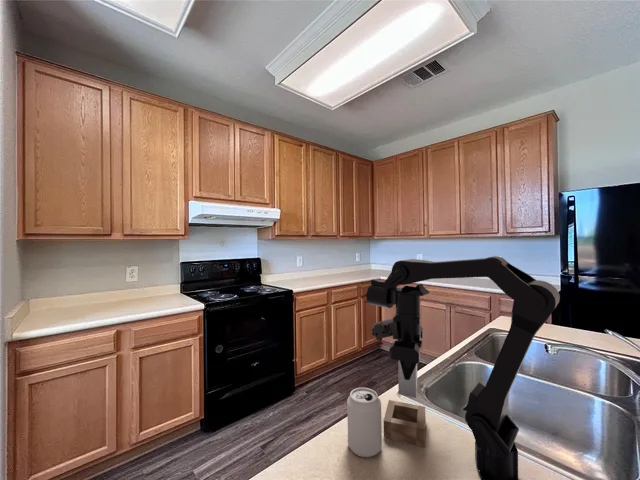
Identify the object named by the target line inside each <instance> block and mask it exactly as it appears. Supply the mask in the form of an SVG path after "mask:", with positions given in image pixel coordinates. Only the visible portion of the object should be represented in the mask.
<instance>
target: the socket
mask: <svg viewBox="0 0 640 480" xmlns="http://www.w3.org/2000/svg"><path fill="white" fill-rule="evenodd" d="M426 423H427V422H426V406H424V405H417V404H413V403H408V402H403V401H397V400H391V399H388V402H387V406H386V409H385V414H384V417H383V438H384V439H388V440H393V441H396V442H401V443H405V444H410V445H414V446H418V447H421V448H426V447H425V445H426Z"/></svg>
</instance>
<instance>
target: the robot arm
mask: <svg viewBox="0 0 640 480" xmlns="http://www.w3.org/2000/svg"><path fill="white" fill-rule="evenodd" d="M466 278H468V279H469V278H488V279H489V280H491V281H492V282H493V283H494V284H495V285H496V286H497V287H498V288H499V289H500V290H502V292H503V293H504V294H505V295H506V296H508V297H509V298H510V299H511V300H513V304H512V309H511V317H510V318H511V319H510V320H511V321H510V322H511V323H510V327H509V330H508V332H507V335H506V337H505V339H504V341H503V343H502V346H501V348H500V351H499V353H498V356H497V358H496V361H495V363H494V365H493V368H492V369H491V372H490V374H489V377H488V380H487V381H486V384H485V385H484V384H483V383H481V382H479V381H478V383H477V384H476V385H475V386H474V387H473V389H472V390H471V391H470V392H469V395H468V401H467V403H466V404H465V406H463V408H462V410H463V411H465V414H464V420H465V422H466V424H467V426H468V428H469V429H470V430H471V432H472V436H473V438H474V440H475V442H474V451H475V452H474V456H475V457H474V462H475V466H476V469H477V471H478V472H479V475H480V477H479V478H480V480H519V450H518V448H517V446H516V443H515V441H516V438H517V435H518V433H519V431H520V427H518V425H517V424H516V423H515V422H514V421H513V420H512V418H511V417H510V416H509V415H508V413H507V411H508V407H509V394H510V391H511V389H512V386H513V385H514V382H515V380H516V378H517V376H518V374H519V371H520V369H521V367H522V364H523V362H524V360H525V358H526V355H527V353H528V351H529V348H530V346H531V345H532V343H533V341H534V338H535V336H536V334H537V332H538V331H539V330H540V329H541V328H542V327H543V325H544V324H545V323H546V321H547V320H548V319H549V318H550V317H551V315H552V314H553V312H554V310H555V309H556V307H557V306H558V304H559V303H560V300H561V299H560V297H561V295H560V293H559V292H558V289H557V288H556V287H555V286H554V285H553V284H552V283H550V282H547V281H544V280H539V279H538V280H537V279H536V278H535V277H532V276H531V275H530V274H528V273H526V272H525V271H523V269H522V270H521V269H520V268H519V267H516V266H514V265H513V264H511V263H510V262H508V260H506V259H505V258H503V257H502V256H496V255H494V256H489V257H484V258H481V257H480V258H471V259H470V258H469V259H468V258H467V259H457V260H454V259H453V260H444V261H432V260H431V261H430V260H425V259H416V258H409V259H404V260H402V259H401V260H397V261H395V262H394V263H393V265H392V268H391V272H390V274H388V277H386V279H385V280H382V279H378V278H374V279H371V280H370V285H369V286H368V288H367V291H366V294H365V296H366V297H365V298H366V301H367V303H368V305H370V306H371V305H372V306H377V307H381V308H386V309H391V308H393V307H394V305H395V314H394V316H393V318H389V319H385V320H381V321H377V322H375V323H373V325H372V326H371V335H372V336H373V337H374V338H375V341H380V340H381V339H385V338H388V337H389V338H391V337H392V339H393V340H394V341H393V342H392V343H391V345H390V347H389V349H388V350H389V351H388V353H389V354H388V357H389V359H390V360H394V361H398V360H399V361H400V363H401V367H402V371H403V375H404V379H405V380H410V378H411V375H412V373H413V371H414V369H415V366H416V364H417V365H418V364H419V363H420V359H421V347H422V343H423V341H422V340H421V339H423V337H424V328H423V327H422V325H421V318H422V314H421V297H423V296H426V295H429V294H430V291H429V290H428V289H427V288H426V287H424V285H423V283H420V282H424V281H428V280H432V279H433V280H435V279H437V280H439V279H466ZM414 283H420V284H417V285H416V286H413V285H412V286H411V285H409V284H414ZM400 286H403V287H402V288H401V287H400Z"/></svg>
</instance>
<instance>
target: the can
mask: <svg viewBox="0 0 640 480" xmlns="http://www.w3.org/2000/svg"><path fill="white" fill-rule="evenodd" d="M349 393H350V394H349V396H348V397H347V399H346V403H347V404H346V405H347V407H346V408H347V409H346V410H347V411H346V413H347V445H348V447H349V449H350V450H351V451H352V452H353V453H355V455H357V456H358V457H361V458H371V457H374V456H375V455H377V454H378V453H380V451H381V450H382V446H383V438H382V437H383V436H382V432H383V430H382V428H383V427H382V401H381V399H380V398H379V395H378V393H377V392H376V391H375V390H374V389H372V388H369V387H356V388H354V389H352V390H351V391H350V392H349Z"/></svg>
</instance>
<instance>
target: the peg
mask: <svg viewBox="0 0 640 480" xmlns="http://www.w3.org/2000/svg"><path fill="white" fill-rule="evenodd" d="M397 361H398V362H397V363H398V366H397V367H398V368H397V369H398V374H397V375H398V378H397V379H398V380H397V381H398V388H397V389H398V392H397V393H398V395H401V396H404V397H409V398H417V394H418V393H417V392H418V363H417V364H416V366H415V369H414V371H413V373H412V375H411V378H410V380H405V379H404V375H403V371H402V367H401V363H400V361H399V360H397Z"/></svg>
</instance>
